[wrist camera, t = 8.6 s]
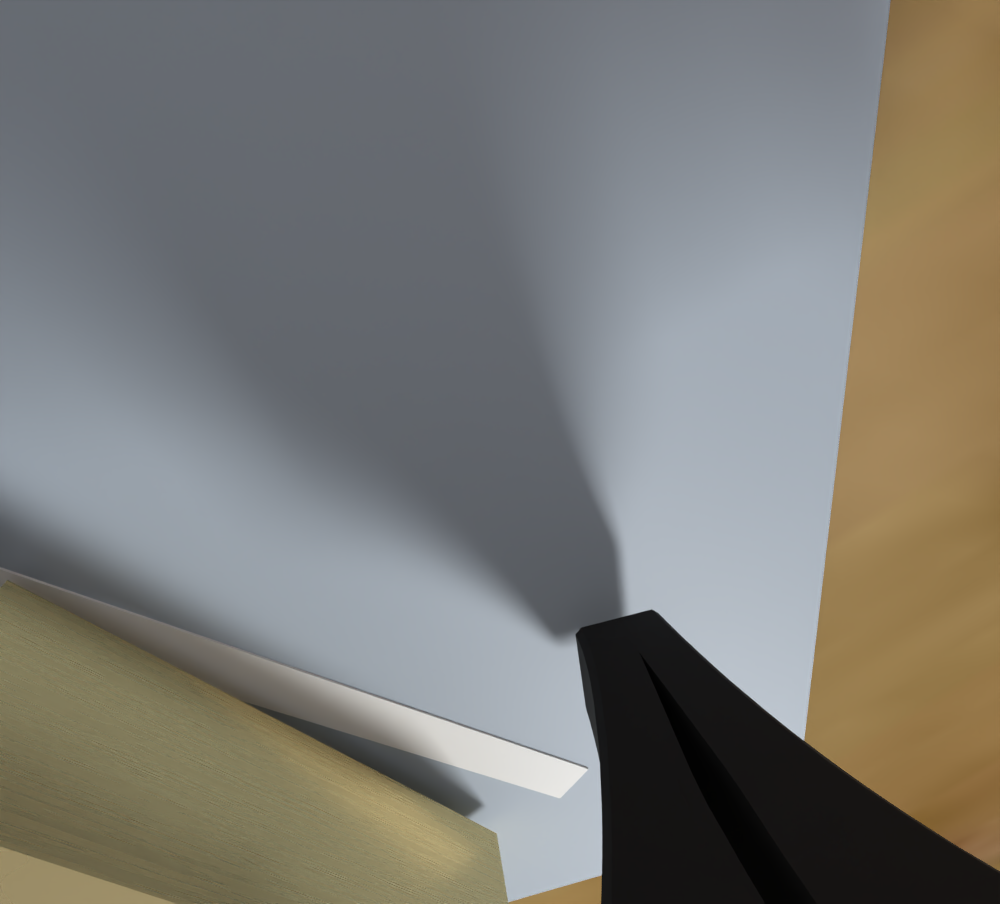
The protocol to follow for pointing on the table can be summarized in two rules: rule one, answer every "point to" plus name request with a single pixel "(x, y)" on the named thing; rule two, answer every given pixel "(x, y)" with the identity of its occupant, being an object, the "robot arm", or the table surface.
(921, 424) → the table surface
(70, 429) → the door panel
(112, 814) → the swing bar
